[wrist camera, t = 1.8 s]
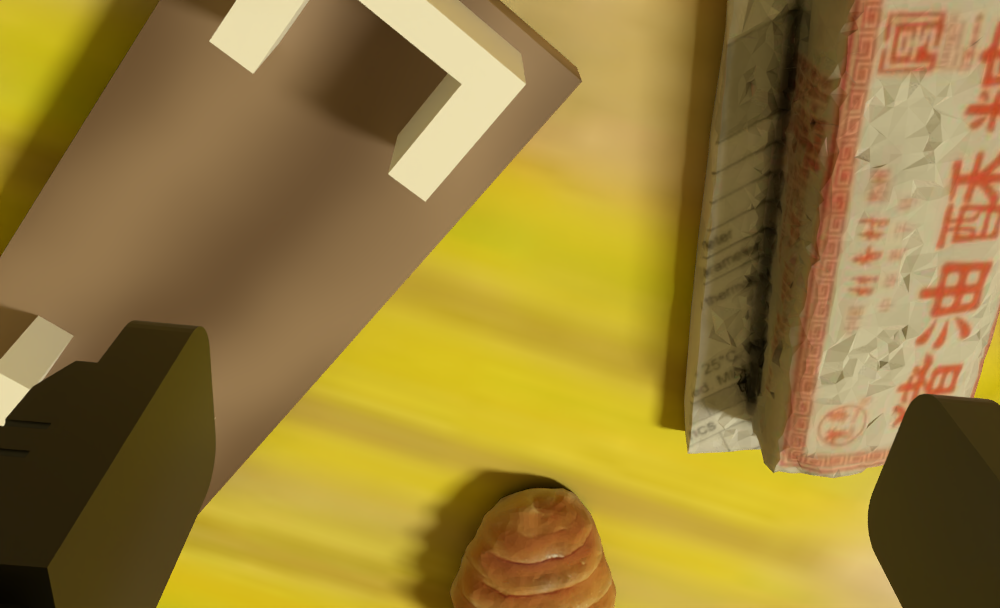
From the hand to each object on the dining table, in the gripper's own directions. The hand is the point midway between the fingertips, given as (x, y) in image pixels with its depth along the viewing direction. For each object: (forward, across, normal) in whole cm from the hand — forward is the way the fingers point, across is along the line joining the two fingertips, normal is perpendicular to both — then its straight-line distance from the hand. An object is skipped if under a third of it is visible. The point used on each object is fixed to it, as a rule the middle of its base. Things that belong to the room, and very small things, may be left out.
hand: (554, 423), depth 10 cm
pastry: (+18, -3, +21) cm, 28 cm away
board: (+17, +8, +6) cm, 20 cm away
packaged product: (+18, -11, +4) cm, 22 cm away
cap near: (+16, +4, -1) cm, 16 cm away
